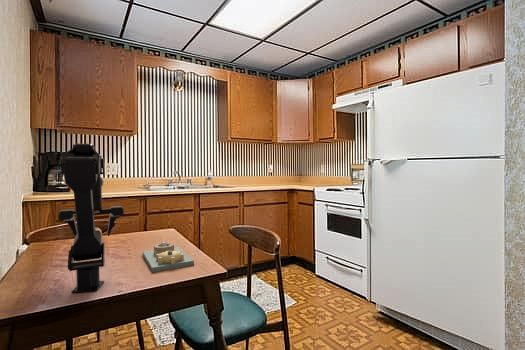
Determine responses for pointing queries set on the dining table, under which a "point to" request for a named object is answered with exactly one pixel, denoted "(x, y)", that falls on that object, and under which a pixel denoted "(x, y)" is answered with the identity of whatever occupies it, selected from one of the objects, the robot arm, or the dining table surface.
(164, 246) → the peg
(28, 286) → the dining table surface
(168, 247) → the beige thick ring
